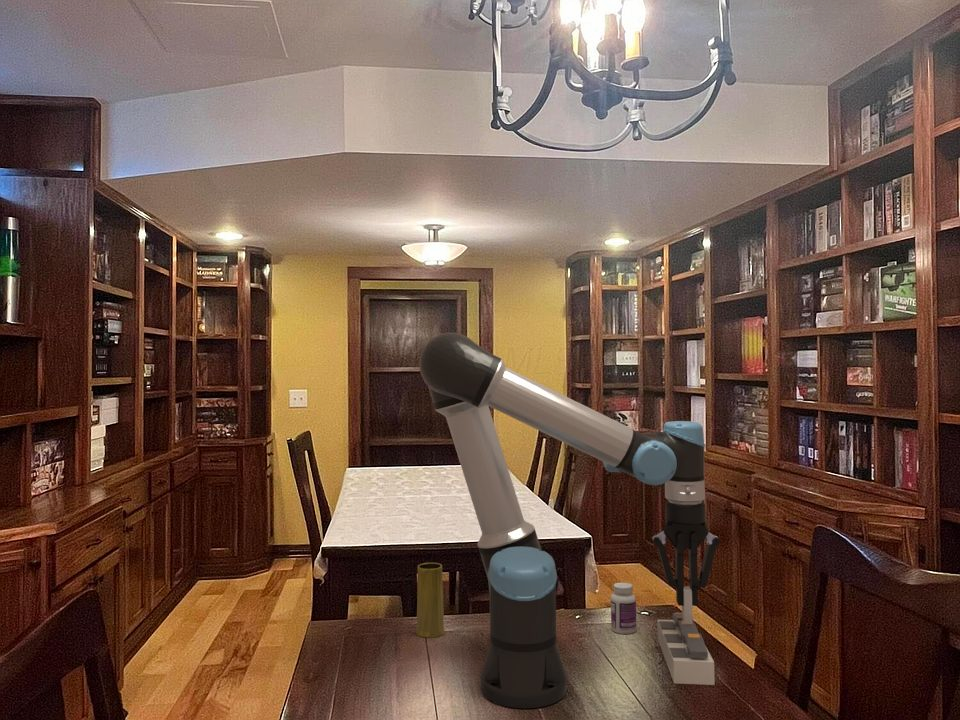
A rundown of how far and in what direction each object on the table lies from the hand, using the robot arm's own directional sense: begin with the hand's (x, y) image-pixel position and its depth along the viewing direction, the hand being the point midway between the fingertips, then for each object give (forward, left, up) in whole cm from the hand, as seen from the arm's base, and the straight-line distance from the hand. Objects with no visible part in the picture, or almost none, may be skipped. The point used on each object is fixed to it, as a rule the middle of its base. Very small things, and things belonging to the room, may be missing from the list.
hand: (687, 621), depth 140 cm
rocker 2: (0, -3, -1) cm, 3 cm away
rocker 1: (0, +4, -1) cm, 5 cm away
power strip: (-1, -3, -7) cm, 7 cm away
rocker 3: (0, -10, -1) cm, 10 cm away
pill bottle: (-11, +12, -7) cm, 18 cm away
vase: (-52, +7, -7) cm, 53 cm away
